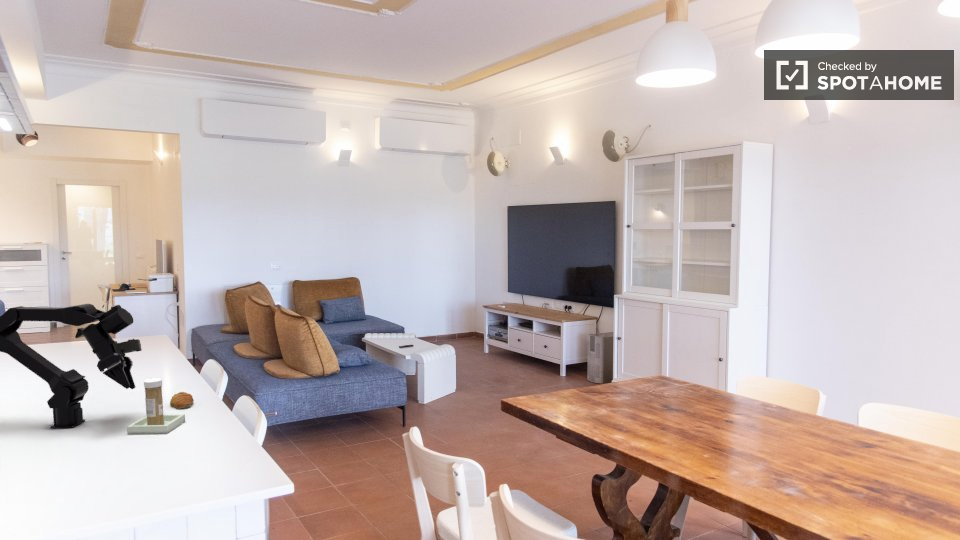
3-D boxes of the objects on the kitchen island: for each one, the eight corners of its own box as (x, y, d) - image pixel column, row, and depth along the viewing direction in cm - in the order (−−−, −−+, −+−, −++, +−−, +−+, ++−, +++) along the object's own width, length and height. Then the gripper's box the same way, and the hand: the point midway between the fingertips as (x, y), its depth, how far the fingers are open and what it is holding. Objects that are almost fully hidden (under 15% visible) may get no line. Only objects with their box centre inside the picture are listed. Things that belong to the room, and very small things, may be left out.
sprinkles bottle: (167, 425, 185) (165, 379, 184) (151, 429, 181) (148, 382, 180) (159, 422, 187) (156, 377, 186) (143, 426, 184) (140, 380, 183)
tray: (127, 434, 179) (126, 426, 179) (147, 422, 190) (147, 414, 190) (167, 433, 179) (166, 426, 179) (185, 421, 190) (184, 414, 190)
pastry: (196, 408, 205) (195, 396, 205) (172, 411, 202) (172, 399, 201) (191, 401, 213) (191, 390, 213) (169, 404, 210) (168, 393, 209)
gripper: (123, 324, 182) (153, 371, 182) (134, 330, 199) (162, 373, 199) (83, 346, 177) (114, 394, 178) (98, 350, 195) (126, 394, 195)
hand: (131, 388), depth 187 cm, fingers open, 9 cm apart
